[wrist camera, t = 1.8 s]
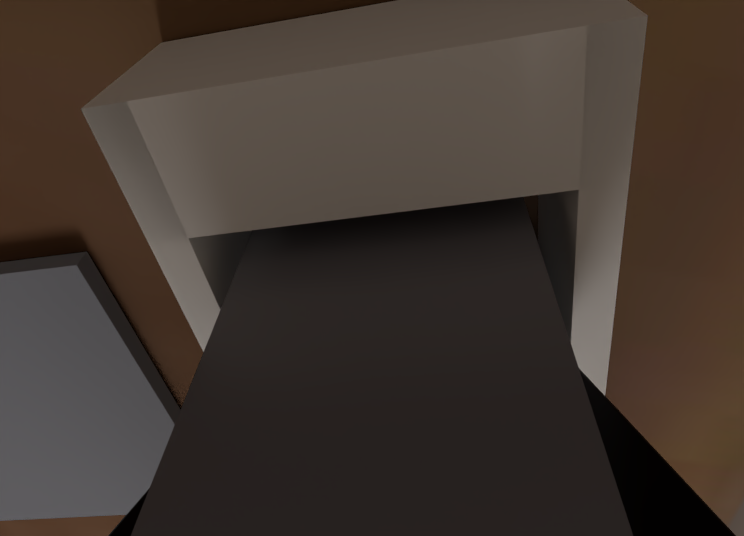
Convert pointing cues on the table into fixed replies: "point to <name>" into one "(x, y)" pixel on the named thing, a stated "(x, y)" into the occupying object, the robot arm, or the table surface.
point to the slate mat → (74, 395)
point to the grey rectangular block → (388, 390)
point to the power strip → (386, 136)
